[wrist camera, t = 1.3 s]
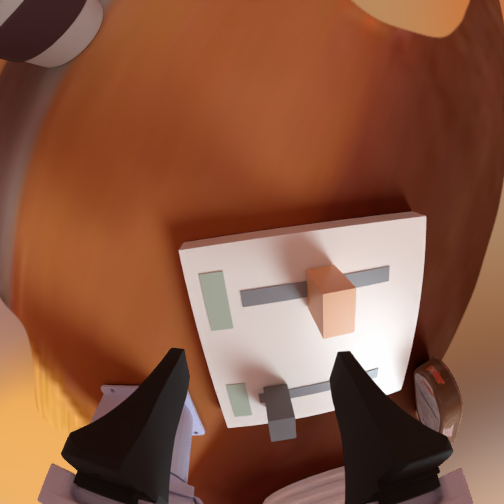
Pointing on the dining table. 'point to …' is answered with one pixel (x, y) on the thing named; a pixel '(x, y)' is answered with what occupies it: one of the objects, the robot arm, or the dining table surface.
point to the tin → (438, 398)
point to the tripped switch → (331, 301)
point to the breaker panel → (303, 308)
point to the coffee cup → (47, 29)
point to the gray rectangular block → (279, 412)
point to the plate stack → (313, 490)
